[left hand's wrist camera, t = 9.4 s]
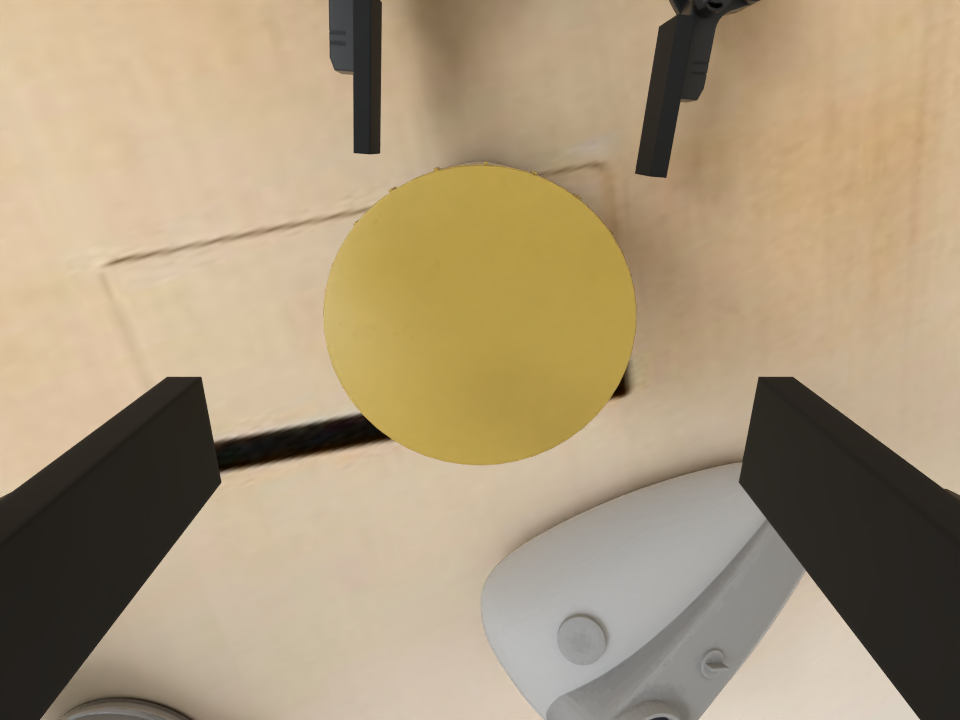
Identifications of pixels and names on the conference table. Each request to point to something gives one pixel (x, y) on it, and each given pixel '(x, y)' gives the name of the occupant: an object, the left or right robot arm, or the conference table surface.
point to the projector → (640, 601)
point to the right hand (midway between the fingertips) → (509, 165)
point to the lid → (480, 314)
